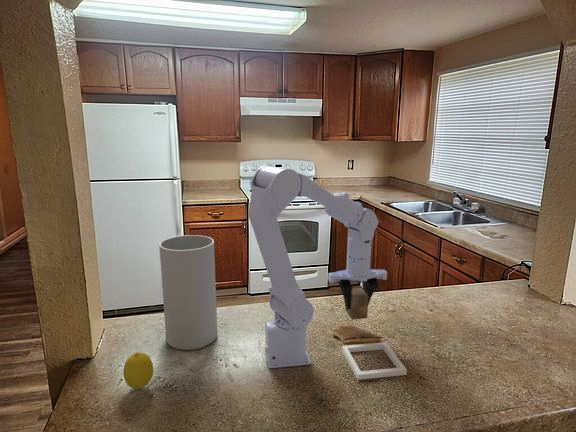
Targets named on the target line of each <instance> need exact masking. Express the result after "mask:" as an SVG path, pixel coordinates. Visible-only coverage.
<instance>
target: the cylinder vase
mask: <svg viewBox="0 0 576 432" xmlns="http://www.w3.org/2000/svg"><path fill="white" fill-rule="evenodd" d="M158 247H159V259H160V271H161V272H160V273H161V275H160V277H161V288H162V301H163V315H164V326H165V327H164V329H165V340H166V342H167V344H168V345H169V346H170V347H171V348H174V349H176V350H181V351H192V350H197V349H202V348H204V347H206V346H208V345H210V344H211V343H213V342H214V340H216V338H217V335H218V316H217V315H218V314H217V290H216V289H217V288H216V287H217V286H216V264H215V263H216V262H215V260H216V259H215V240H214V239H213V238H212V237H210V236H205V235H199V234H196V235H195V234H194V235H193V234H190V235H189V234H186V235H179V236H178V235H177V236H173V237H169V238H166V239H164V240H162V241H160V242H159V245H158Z"/></svg>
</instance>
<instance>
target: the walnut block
mask: <svg viewBox="0 0 576 432" xmlns="http://www.w3.org/2000/svg"><path fill="white" fill-rule="evenodd" d="M368 307H369V305H368V295H367V294H366V292H365V291H364V290H363V287H353V288H352V293H351V306H350V309H347V308H346V307H345V312H346V313H347V314H348V316H349V318H350V319H351V320H361V319H368V310H369V308H368Z"/></svg>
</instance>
